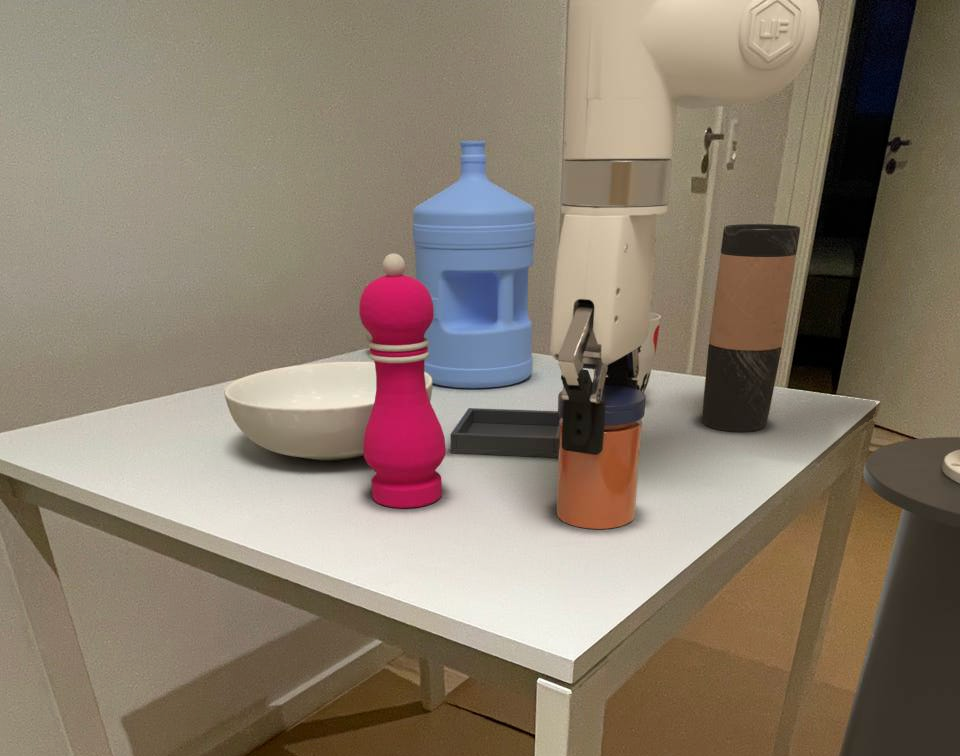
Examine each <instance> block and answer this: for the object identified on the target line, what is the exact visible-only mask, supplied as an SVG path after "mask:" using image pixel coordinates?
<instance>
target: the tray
mask: <svg viewBox="0 0 960 756" xmlns="http://www.w3.org/2000/svg"><path fill="white" fill-rule="evenodd" d="M560 419H561V417H559V415H558V410H536V409H534V410H533V409H504V408H500V409H499V408H476V407H475V408H473V407H469V408H467V409H466V411H465V412H464V414H463V416H462V417H461V419H460V420H459V421H458V423H457V424H456V426H454V429H453V430H452V431H451V432H450V453H451V454H464V455H485V456H486V455H489V456H514V457H532V458H533V457H535V458H536V457H537V458H556V459H558V452H559V421H560Z"/></svg>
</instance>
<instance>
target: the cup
mask: <svg viewBox="0 0 960 756" xmlns="http://www.w3.org/2000/svg"><path fill="white" fill-rule="evenodd" d="M661 317H662V315H660V314H658V313H655V312H651V315H650V323H649V329H648V335H647V338H646V340H645V342H644V343H643V344H642V345H641V348H640V350H641V351H640V352H639V354H638V357H639V374H638V377H637V378H636V379H632V378H631V379H632V380H638V382H637V390H639V391H641V392H643V393H644V394H645V392H646V389H647V387H648V385H649V381H650V378H651V373H652V370H653V365H654V361H655V358H656V357H655V356H656V353H657V345H658V341H659V340H658V339H659V332H660V326H661ZM590 353H591V357H597V358H599V357H598V355H600V354H601V353H596V352H590ZM592 370H593V371H592V372H593V375H594V374H595V369H592ZM606 377H608V376H606Z"/></svg>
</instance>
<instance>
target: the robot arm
mask: <svg viewBox="0 0 960 756" xmlns="http://www.w3.org/2000/svg"><path fill="white" fill-rule="evenodd" d="M819 28H820V9H819V3H818V0H569V5H568V18H567V43H566V44H567V45H566V46H567V48H566V50H567V51H566V73H565V77H566V78H565V101H564V127H563V128H564V129H563V148H562V149H563V153H562V154H563V155H562V159H563V161H562V177H561V178H562V179H561V182H562V183H561V205H560V213H561V214H562V215H564V216H563V220H562V227H561V231H560V237H559V243H558V249H557V257H556V266H555V278H554V286H553V298H552V312H551V325H550V342H549V351H550V354H551V356H552V358H553V359H554V360H556V361H557V363H558V366H559V368H560V372H561V375H560V380H561V383H562V390H561V391H562V398H563V400H564V402H563V425H562V448H563V449H564V450H566V451H572V452H579V453H586V454H593V455H598V454H599V453H600V452H602V449H603V436H604V422H605V407H606V402H605V401H601V397H602V392H603V388H604V385H615V386H623V387H629V388H633V389H636V390H637V382H638V380H632V379H636V378H637V377H638V374H639V357H638V354H639V352H640V351H641V350H640V348H641V345H642V344H643V343H644V342H645V340H646V338H647V335H648V329H649V323H650V315H651V313H652V305H653V294H654V293H653V292H654V291H653V290H654V279H655V278H654V277H655V261H656V260H655V259H656V258H655V257H656V241H657V239H656V229H657V228H656V225H657V224H656V222H657V221H656V219H657V218H656V217H657V216H659V215H664V214H667V213H668V207H669V197H670V196H669V195H670V188H671V187H670V186H671V176H672V175H671V174H672V165H673V161H672V159H673V155H674V153H673V152H674V145H675V144H674V142H675V133H676V123H677V113H678V107H680V108H682V109H683V108H684V109H689V110H694V109H695V110H696V109H707V108H714V107H716V108H717V107H731V106H738V105H739V106H740V105H747V104H752V103H756V102H759V101H760V102H761V101H762V100H765V99H767V98H770V97H772V96H774V95H775V94H777V93H779V92H780V91H782V90H783V89H785V88H786V87H787V86H788V85H789V84H791V83H792V82H793V81H794V80H795V79H796V78H797V76H799V74H800V73H801V72H802V70H803V69H804V68H805V66H806V65H807V63H808V62H809V60H810V58H811V55H812V54H813V52H814V49H815V47H816V43H817V39H818V35H819V30H820V29H819ZM585 352H588V353H591V352H596V353H601V354H600V355H598V357H599V358H597V357H592V356H584V353H585ZM588 369H589V370H593V369H595V374H594V373H593V379H592V377H591V375H590V372H589V370H588ZM606 376H608V377H606ZM631 378H632V379H631ZM942 471H943V472H944V474H945V475H946V476H947V477H949V478H950V479H951V480H953V481H955V482H957V483H959V484H960V450H956V451H953V452H951V453H949V454H948V455H947V456H945V458H944V461H943V465H942Z"/></svg>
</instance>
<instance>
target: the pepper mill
mask: <svg viewBox="0 0 960 756" xmlns="http://www.w3.org/2000/svg"><path fill="white" fill-rule="evenodd" d="M382 269H383V272H384V274H385V275H383V276H382V275H381V276H380V277H378V278H375V279H374V280H372V281H371V282H369V283H368V284H367V285H366V286H365V288H364V289H363V291H362V293H361V296H360V299H359V305H358V306H359V307H358V313H359V319H360V321H361V324H362V327H364V329H365V331H366V330H367V331H368V332H369V333H370V334H371V336H372V339H371V340H370V341H369V342H368V341H367V346H368V347H369V353H368V358H369V359H371V360H372V361H373V362H375V370H376V395H375V402H374V405H373V408H372V412H371V415H370V418H369V421H368V424H367V427H366V430H365V435H364V441H363V454H364V456H363V458H364V460H365V462H366V464H367V465H368V466H369V467H370V468H371V469H372V470H373V471H374V472H376V473H375V474H374V475H373V476H372V477H371V480H370V481H371V493H372V499H373V500H374V502H375V503H377V504H379V505H381V506H385V507H389V508H397V509H413V508H421V507H424V506H429V505H431V504H433V503H435V502H437V501H439V500H440V499H441V497H442V494H443V487H442V486H443V485H442V483H443V482H442V475H441V474H440V473H439V472H438V471H436V470H437V469H438V467H439V466H440V465H441V464H442V462H443V461H444V459H445V457H446V452H447V447H446V439H445V434H444V430H443V427H442V425H441V422H440V421H439V419H438V416H437V414H436V412H435V410H434V408H433V406H432V403H431V401H430V400H429V398H428V394H427V390H426V384H425V375H424V365H425V359H426V358H427V357H428V356H429V351H428V347H427V346H428V344H429V341H428V339H426V338H424V335H425V332H426V331H427V329H428V328H429V326H430V325H431V323H432V320H433V317H434V308H433V302H432V298H431V295H430V293H429V291H428V290H427V288H426V287H425V286H424V285H423V284H422V283H421V282H420V281H418V280H417V279H416V278H414V277H412V276H409V275H404V273H405V271H406V262H405V260H404V258H403V257H402V256H401V255H400V254H398V253H389V254H388V255H386V256H385V258H384V259H383V261H382Z"/></svg>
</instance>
